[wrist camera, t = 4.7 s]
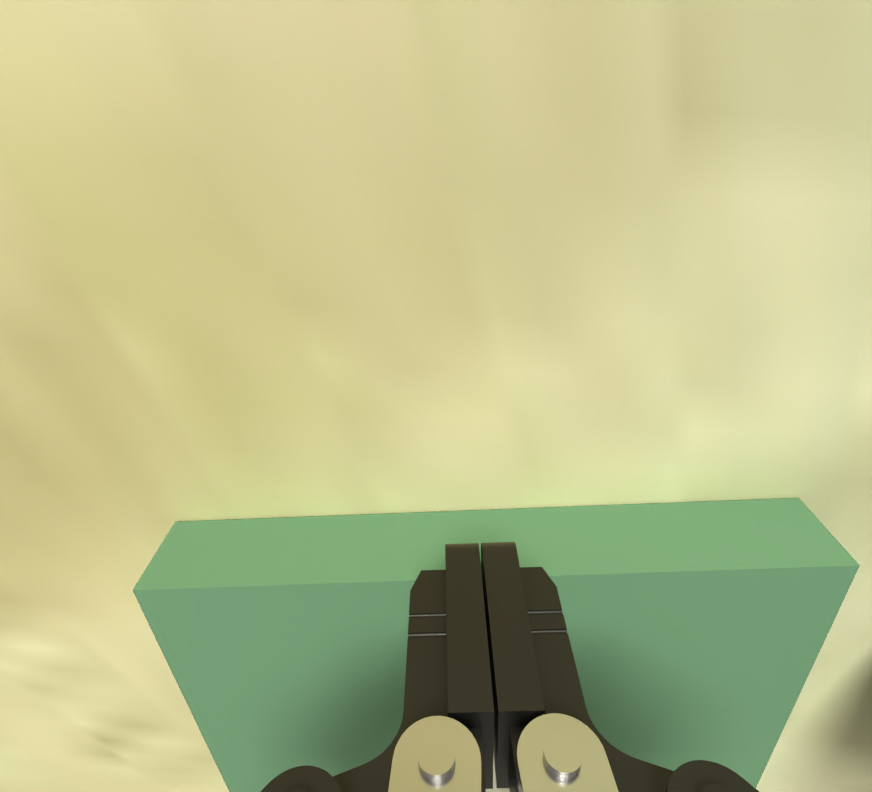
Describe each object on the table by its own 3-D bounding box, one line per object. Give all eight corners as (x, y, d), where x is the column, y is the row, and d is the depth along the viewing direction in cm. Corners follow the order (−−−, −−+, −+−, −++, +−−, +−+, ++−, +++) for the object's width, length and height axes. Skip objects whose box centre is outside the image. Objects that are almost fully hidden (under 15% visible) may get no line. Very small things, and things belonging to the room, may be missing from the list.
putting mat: (799, 497, 15) (859, 565, 13) (672, 850, 26) (694, 919, 24) (175, 521, 16) (132, 590, 13) (305, 856, 26) (293, 924, 24)
